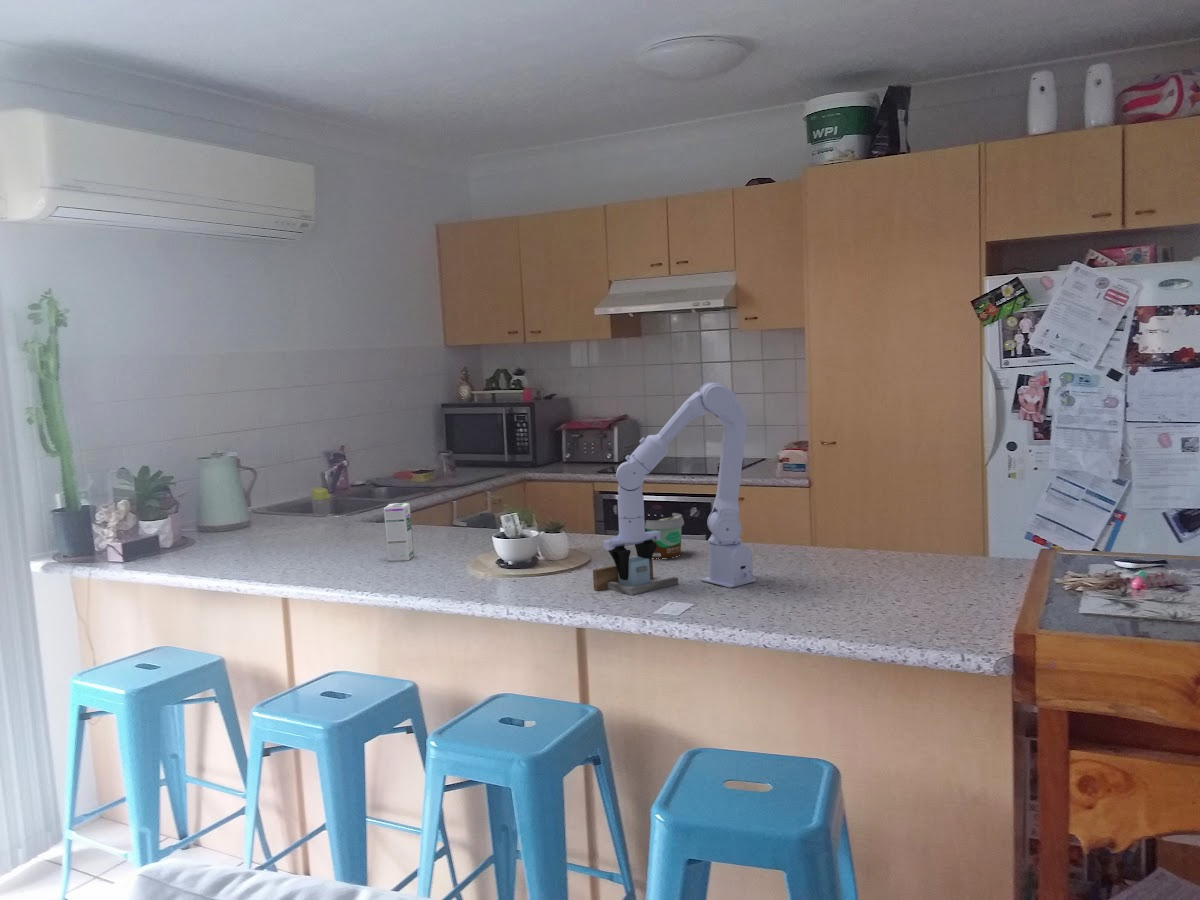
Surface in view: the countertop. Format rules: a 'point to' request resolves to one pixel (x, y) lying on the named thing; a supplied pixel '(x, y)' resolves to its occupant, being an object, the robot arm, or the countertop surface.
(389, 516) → the syrup box
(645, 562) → the cabinet block
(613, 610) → the countertop surface
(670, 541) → the food container
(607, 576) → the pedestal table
